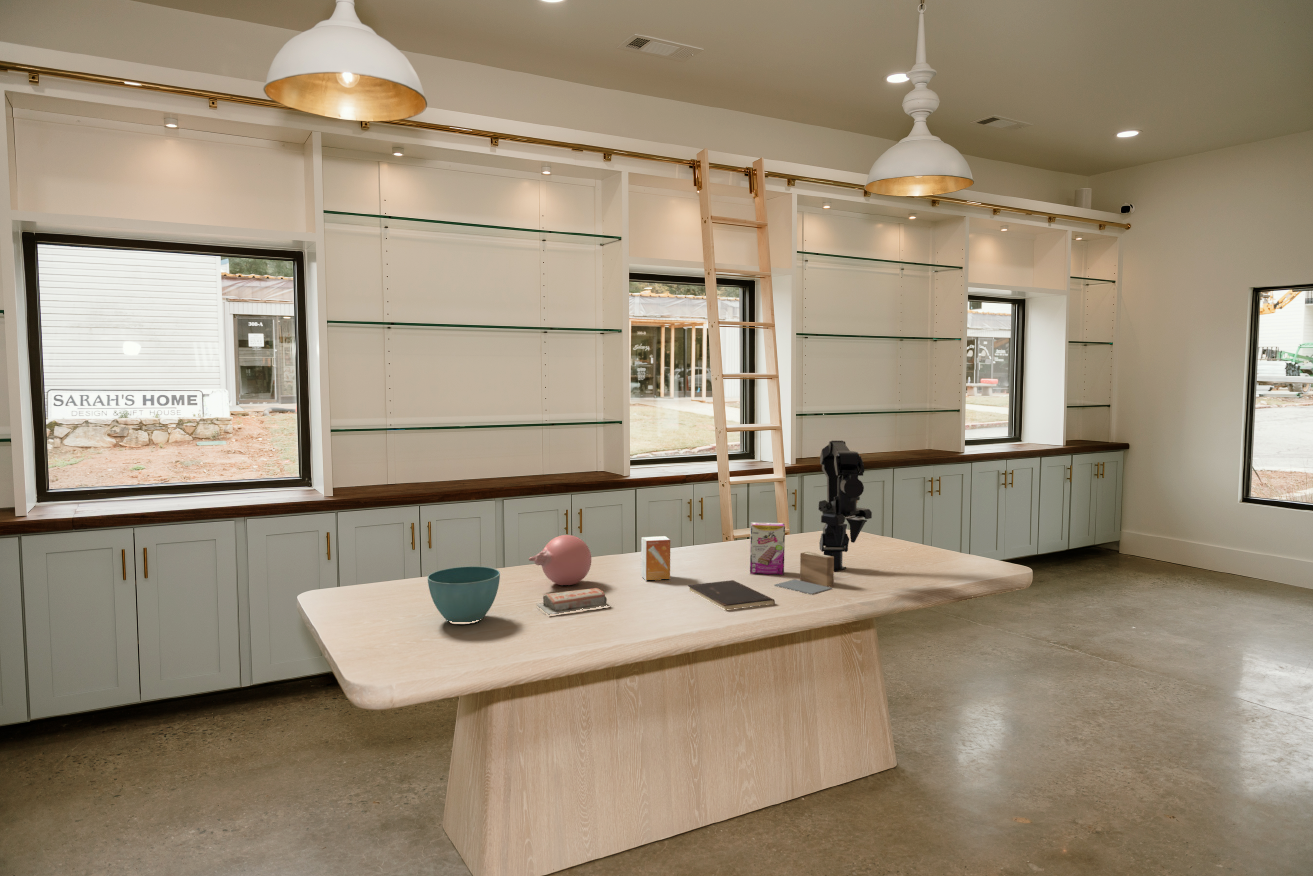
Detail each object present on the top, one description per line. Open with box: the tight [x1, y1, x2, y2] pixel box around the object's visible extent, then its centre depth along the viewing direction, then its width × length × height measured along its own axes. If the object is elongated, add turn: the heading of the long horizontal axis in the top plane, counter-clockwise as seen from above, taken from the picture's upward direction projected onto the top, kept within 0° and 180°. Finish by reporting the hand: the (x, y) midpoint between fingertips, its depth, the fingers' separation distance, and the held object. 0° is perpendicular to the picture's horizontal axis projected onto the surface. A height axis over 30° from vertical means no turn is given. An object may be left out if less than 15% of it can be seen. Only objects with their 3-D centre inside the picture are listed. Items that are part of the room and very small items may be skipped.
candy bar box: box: [749, 521, 786, 576], centre depth 253 cm, size 11×5×16 cm, turn 84°
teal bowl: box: [427, 565, 501, 622], centre depth 201 cm, size 18×18×12 cm
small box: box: [640, 535, 671, 581], centre depth 246 cm, size 8×6×13 cm
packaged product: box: [536, 587, 611, 615], centre depth 213 cm, size 18×5×10 cm
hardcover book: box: [687, 579, 776, 611], centre depth 224 cm, size 16×23×2 cm
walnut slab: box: [799, 551, 835, 587], centre depth 240 cm, size 4×10×9 cm, turn 42°
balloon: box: [528, 534, 592, 586], centre depth 237 cm, size 15×20×15 cm
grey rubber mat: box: [773, 579, 833, 595], centre depth 236 cm, size 10×14×1 cm
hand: (846, 544), depth 236 cm, fingers open, 7 cm apart
